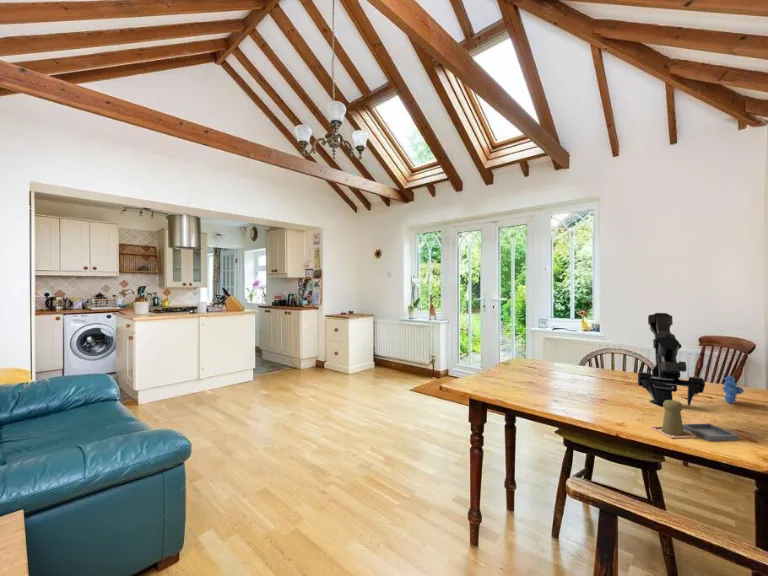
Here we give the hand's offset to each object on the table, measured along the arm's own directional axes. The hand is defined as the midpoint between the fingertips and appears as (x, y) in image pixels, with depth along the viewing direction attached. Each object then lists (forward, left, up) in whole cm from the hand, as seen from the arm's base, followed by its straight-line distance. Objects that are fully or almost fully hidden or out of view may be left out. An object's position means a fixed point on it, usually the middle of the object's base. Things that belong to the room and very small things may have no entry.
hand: (671, 403), depth 126 cm
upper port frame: (+2, -1, -10) cm, 10 cm away
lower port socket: (+4, +10, -10) cm, 14 cm away
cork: (+2, -1, -10) cm, 10 cm away
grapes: (-24, +48, -10) cm, 54 cm away
